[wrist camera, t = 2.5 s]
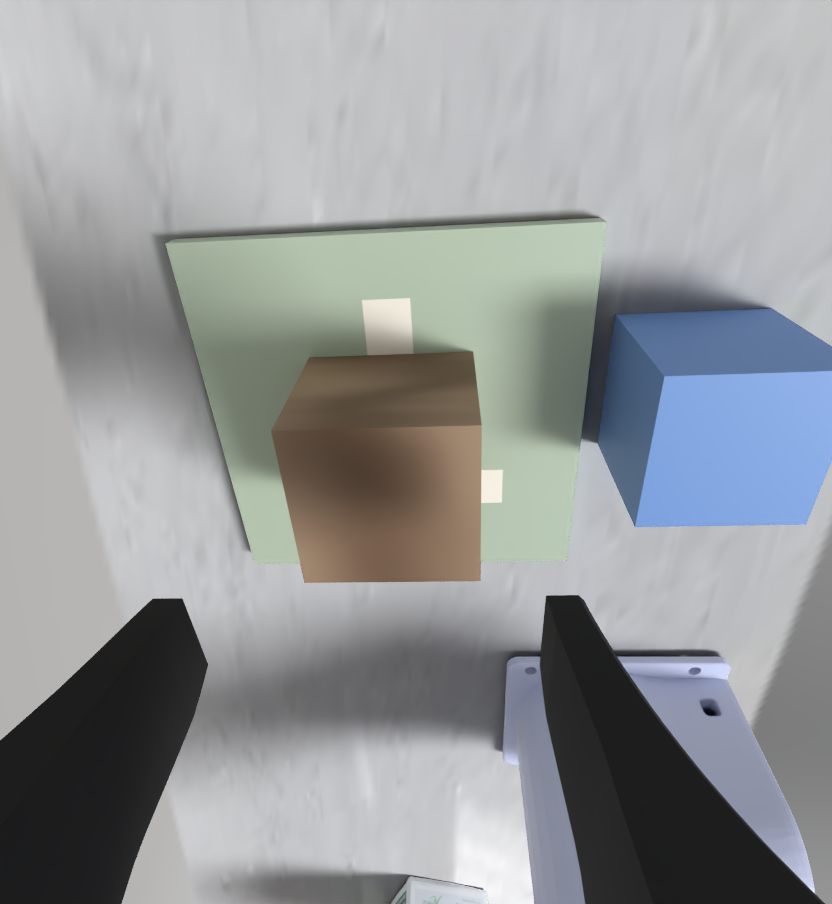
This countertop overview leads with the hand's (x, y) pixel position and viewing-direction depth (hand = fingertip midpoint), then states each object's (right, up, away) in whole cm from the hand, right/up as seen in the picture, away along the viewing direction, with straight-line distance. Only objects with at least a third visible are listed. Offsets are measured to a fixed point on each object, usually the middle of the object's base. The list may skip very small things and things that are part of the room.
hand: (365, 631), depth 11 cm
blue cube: (+9, +6, +7) cm, 13 cm away
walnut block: (0, +4, +7) cm, 8 cm away
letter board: (0, +5, +8) cm, 9 cm away
